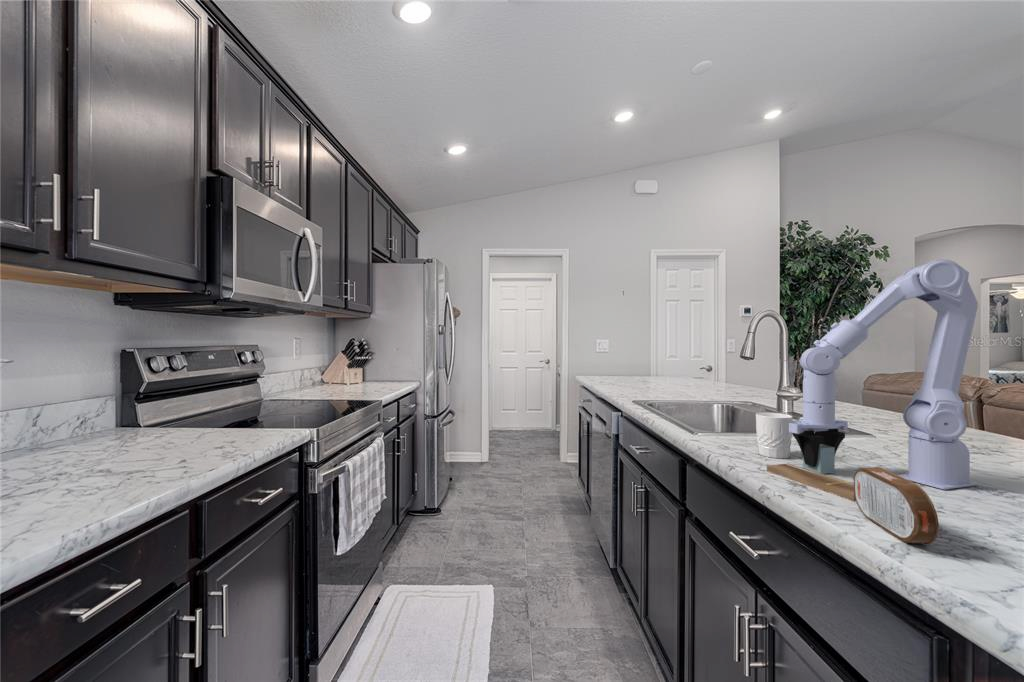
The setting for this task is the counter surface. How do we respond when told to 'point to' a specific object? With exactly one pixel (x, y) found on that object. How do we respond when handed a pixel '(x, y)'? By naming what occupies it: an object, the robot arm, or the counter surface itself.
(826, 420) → the robot arm
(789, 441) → the white cup
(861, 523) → the counter surface
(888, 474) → the tin
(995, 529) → the counter surface
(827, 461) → the block
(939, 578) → the counter surface
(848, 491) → the walnut board
